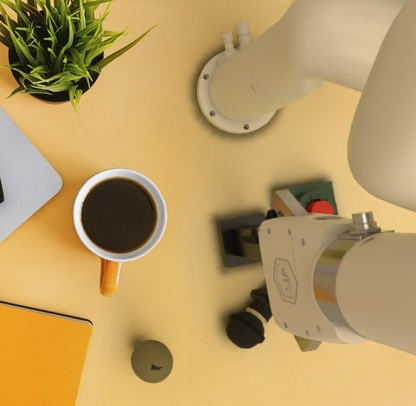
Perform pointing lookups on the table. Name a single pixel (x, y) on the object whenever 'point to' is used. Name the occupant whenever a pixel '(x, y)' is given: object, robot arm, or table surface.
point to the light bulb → (151, 361)
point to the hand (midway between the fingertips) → (260, 263)
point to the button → (320, 207)
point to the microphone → (249, 325)
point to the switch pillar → (239, 240)
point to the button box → (314, 194)
